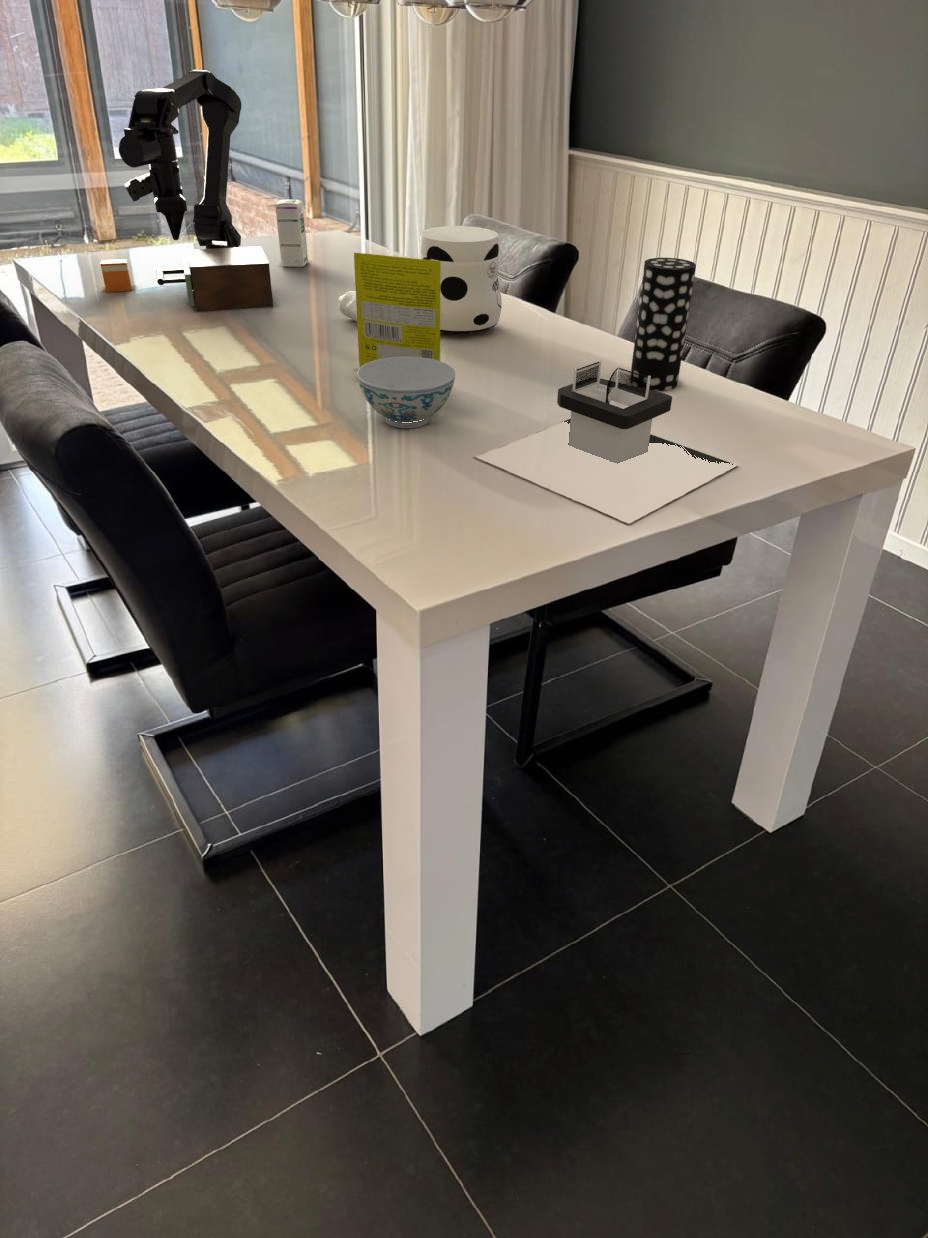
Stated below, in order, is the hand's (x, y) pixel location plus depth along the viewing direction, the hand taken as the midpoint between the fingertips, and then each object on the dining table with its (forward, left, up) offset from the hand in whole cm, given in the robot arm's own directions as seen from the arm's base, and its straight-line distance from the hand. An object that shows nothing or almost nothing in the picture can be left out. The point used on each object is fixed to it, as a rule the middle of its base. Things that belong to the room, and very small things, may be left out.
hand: (175, 239), depth 196 cm
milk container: (-21, +64, -11) cm, 68 cm away
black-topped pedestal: (+14, +122, -11) cm, 123 cm away
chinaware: (+22, +90, -11) cm, 93 cm away
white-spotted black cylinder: (-20, +110, -11) cm, 112 cm away
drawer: (+1, +11, -10) cm, 15 cm away
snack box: (+9, -11, -11) cm, 18 cm away
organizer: (-3, +14, -11) cm, 18 cm away
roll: (-11, +45, -11) cm, 47 cm away
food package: (+8, +75, -11) cm, 76 cm away
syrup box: (-34, -1, -11) cm, 36 cm away
